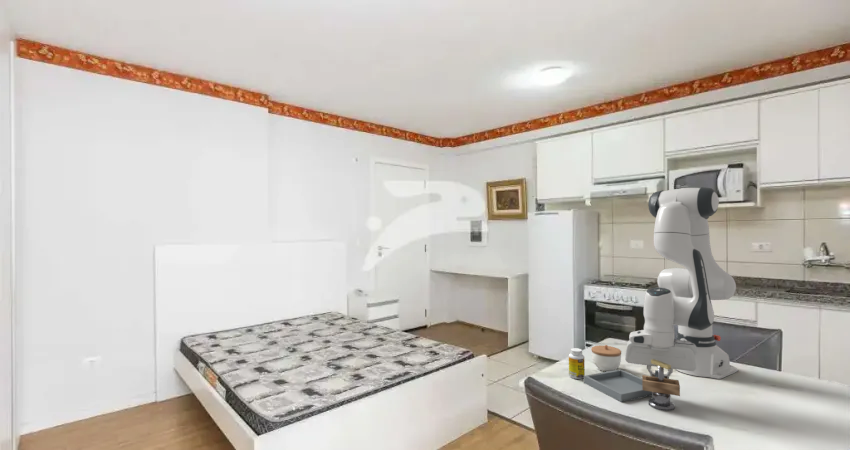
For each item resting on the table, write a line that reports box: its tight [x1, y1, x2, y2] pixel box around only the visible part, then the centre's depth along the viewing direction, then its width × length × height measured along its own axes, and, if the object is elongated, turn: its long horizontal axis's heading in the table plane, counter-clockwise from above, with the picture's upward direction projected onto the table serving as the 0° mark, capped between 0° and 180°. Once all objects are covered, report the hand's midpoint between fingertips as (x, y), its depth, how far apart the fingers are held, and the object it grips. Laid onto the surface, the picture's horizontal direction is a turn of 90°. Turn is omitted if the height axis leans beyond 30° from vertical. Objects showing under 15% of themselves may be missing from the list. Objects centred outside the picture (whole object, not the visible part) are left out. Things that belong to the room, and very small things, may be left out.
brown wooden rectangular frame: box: [642, 369, 681, 397], centre depth 131 cm, size 10×12×3 cm
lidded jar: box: [590, 344, 622, 372], centre depth 159 cm, size 11×11×9 cm
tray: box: [583, 369, 652, 403], centre depth 141 cm, size 17×17×2 cm
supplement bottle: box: [568, 347, 586, 380], centre depth 152 cm, size 6×6×10 cm
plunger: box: [648, 359, 675, 412], centre depth 128 cm, size 7×7×14 cm
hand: (659, 379), depth 134 cm, fingers closed on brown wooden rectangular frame, 2 cm apart
